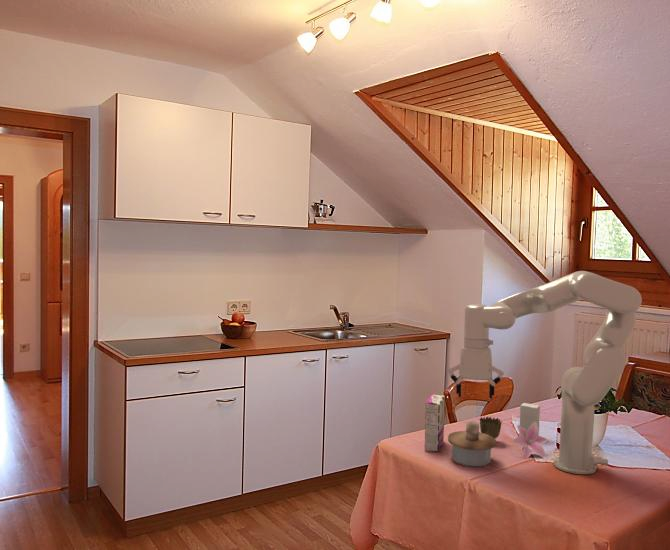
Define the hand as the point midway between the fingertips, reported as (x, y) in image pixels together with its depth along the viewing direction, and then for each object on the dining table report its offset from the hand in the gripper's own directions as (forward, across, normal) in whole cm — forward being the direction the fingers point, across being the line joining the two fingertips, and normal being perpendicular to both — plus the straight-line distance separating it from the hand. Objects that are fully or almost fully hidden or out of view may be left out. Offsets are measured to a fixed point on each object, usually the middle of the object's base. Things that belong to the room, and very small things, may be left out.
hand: (475, 396), depth 198 cm
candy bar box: (+21, +13, -10) cm, 26 cm away
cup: (+21, -6, -19) cm, 29 cm away
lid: (+15, +1, 0) cm, 15 cm away
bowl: (+21, +1, 0) cm, 21 cm away
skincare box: (+21, -20, -27) cm, 40 cm away
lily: (+21, -18, -10) cm, 30 cm away
